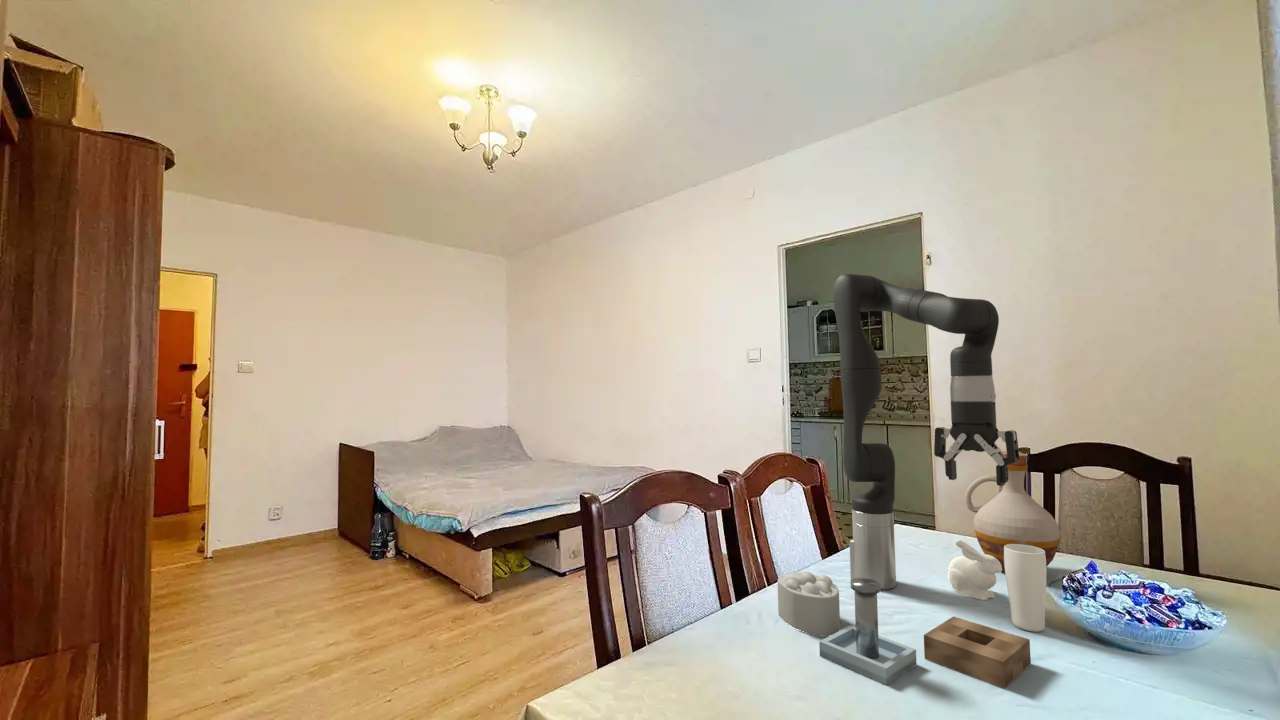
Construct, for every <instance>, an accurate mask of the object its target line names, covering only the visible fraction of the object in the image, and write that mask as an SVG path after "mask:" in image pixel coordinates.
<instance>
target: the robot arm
mask: <svg viewBox="0 0 1280 720" xmlns="http://www.w3.org/2000/svg"><path fill="white" fill-rule="evenodd" d="M832 292H833V293H832V296H833V297H832V298H833V299H832V300H833V307H834V308H833V309H834V315H835V319H836V327H837V328H836V329H837V332H838V333H837V334H838V346H839V356H840V357H839V358H840V380H841V381H840V382H841V383H840V385H841V393H842V405H843V406H842V408H843V410H842V411H843V441H842V442H843V443H842V460H843V461H842V463H843V469H844V474H845V476H846V478H847V480H849V482H854V483H872V484H871V486H870V487H868V489H866V490H865V491H863V492H861V493H859V494H856V495H854V496H853V497H852V499H851V516H852V517H851V518H852V522H851V523H852V539H850V540H849V566H850V568H849V569H850V581H851V580H852V579H855V578H866V579H871V580H875V581H877V582H879V583H880V585H881V590H889V589H890V590H891V589H894V588H895V587H897V572H896V567H897V566H896V565H897V564H896V545H895V544H896V541H895V538H896V537H895V522H894V521H895V518H894V515H895V514H894V503H895V500H896V499H895V498H896V489H895V488H896V486H895V485H896V460H895V455H894V452H893V449H892V448H891V447H890V446H889V445H888V444H887V443H881V442H877V443H876V442H873V443H872V442H870V443H868V442H867V443H863V431H864V425H865V423H866V420H867V418H868V416H869V414H870V413H871V411H872V409H873V407H874V406H875V404H876V402H877V401H878V398H879V397H880V394H881V393H882V392H881V391H882V387H883V385H882V384H883V383H882V370H881V361H880V358H879V357H878V354H877V352H876V350H875V349H874V347H873V346H872V344H871V342H870V340H869V339H868V337H867V336H866V334H865V331H864V329H863V325H862V320H861V318H862V317H861V312H862V313H865V312H889V313H893V314H895V315H898V316H899V317H901V318H903V319H905V320H908V321H912V322H915V323H920V324H923V325H929V326H931V327H933V328H935V329H938V330H940V331H942V332H946V333H951V334H958V335H964V338H963V342H962V345H961V346H958V347H955V348H953V349H952V350H951V352H950V353H949V354H950V355H949V357H950V358H949V360H950V361H949V363H950V387H949V394H950V395H949V396H950V416H951V417H950V420H951V428H946V427H944V426H940V427H935V429H934V446H933V447H934V456H935V457H937V458H941V459H943V460H944V467H945V468H944V470H945V476H946V477H948V480H950V481H956V480H957V479H958V478H957V477H958V476H957V474H958V473H957V472H958V471H957V460H955V459H956V458H957V456H958V455H960V454H961V452H962V451H965V452H966V451H967V452H970V451H975V452H979V453H983V452H986V453H987V455H988V456H989V457H991V458H992V460H993V461H994V462H995V463H997V464H998V466H997V464H996V465H995V473H996V475H995V476H996V477H997V482H996V485H997V486H1003V485H1005V483H1007V482H1008V480H1009V479H1008V465H1009V464H1011V463H1016V462H1019V461H1020V457H1019V453H1020V449H1019V448H1020V447H1019V442H1018V435H1017V434H1018V433H1017V431H1015V430H1013V429H1011V430H999V429H998V427H997V412H996V411H997V410H996V405H997V404H996V398H997V395H996V390H995V388H996V387H995V382H994V377H993V360H992V355H993V351H994V347H995V342H996V338H997V334H998V330H999V322H1000V320H999V319H1000V318H999V313H998V311H997V308H996V306H995V305H994V304H993V303H992V302H991V301H989V300H986V299H982V298H981V299H980V298H979V299H978V298H964V297H962V298H961V297H954V296H953V297H952V296H947V295H946V294H944V293H940V292H935V291H930V290H925V289H924V290H923V289H919V288H918V289H917V288H908V287H907V288H906V287H901V286H899V285H894V284H891V283H889V282H887V281H885V280H883V279H881V278H877V277H875V276H873V275H870V274H869V275H866V274H857V273H843V274H841V275H840V276H839V277H837V279H836V281H835V283H834V285H833V291H832ZM949 435H950V436H951V438H952V439H953V440H954V442H953V443H952V445H951V446H950V447H949V448H948V451H946V450H947V449H946V447H947V439H948V438H949ZM999 438H1000V439H1001V440H1002V442H1003V443H1005V448H1006V450H1005V451H1007V458H1006V457H1005V455H1004V454H1003V453H1002V451H1003V450H1001V448H1000V447H999V446H998V445H997V444H996V442H997V440H998V439H999Z"/></svg>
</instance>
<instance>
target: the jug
mask: <svg viewBox="0 0 1280 720" xmlns="http://www.w3.org/2000/svg"><path fill="white" fill-rule="evenodd" d="M1001 451H1002V453H1003V454H1004V455H1005V457H1006V458H1007V450H1001ZM1028 456H1029V455H1028V454H1026V453H1023V452H1022V453H1021V452H1019V457H1020V461H1019V462H1016V463H1011V464H1009V465H1008V479H1009V480H1008V482H1007V483H1005V485H1003V486H999V487H998V488H999V490H998V493H996V495H994V496H993V497H992V498H991V499H990V500H988V501H986V502H984V504H983V505H980V506H974V504H973V503H972V496H973V493H974V491H975V490H976V488H978V487H979V486H980V485H982V484H984V483H987V482H994V483H997V477H996V475H983V476H982V477H979V478H977V479H975V480H974V481H972V482H971V483H970V484H969V485H968V487H967V489H966V491H965V494H964V503H965V505H966V508H967V509H968V510H969V511H970V512H972V513H975V514H974V519H973V526H974V527H973V528H974V533H975V536H976V539H977V542H978V544H979V546H980V548H981V550H982V552H983V553H984V554H986V555H991V556H993V557H995V558H996V559H997V560H998V561H999V562H1000V563H1001V566H1002V571H1001V572H1000V573H1001V574H1004V575H1005V567H1004V546H1005V545H1007V544H1023V545H1030V546H1034V547H1038V548H1041V549H1043V550H1044V551H1045V555H1046V566H1047V567H1048V566H1049V565H1050V564H1051V563H1052V562H1053V560H1054V558H1055V556H1056V553H1057V552H1058V547H1059V544H1060V538H1061V537H1060V536H1061V535H1060V534H1061V531H1060V528H1059V525H1058V522H1057V521H1056V520H1055V518H1054V517H1053V515H1052V514H1051V513H1050V512H1049V511H1048V510H1046V509H1045V508H1044V507H1043V506H1042V505H1040V504H1039V503H1038V502H1037V501H1036V500H1035V499H1033V498H1032V497H1031V496H1030V495H1029V494H1028V493H1027V492H1026V490H1025V475H1026V471H1028V467H1029V465H1028V464H1026V462H1027V459H1028ZM995 463H996V462H995ZM996 466H998V464H997V463H996Z"/></svg>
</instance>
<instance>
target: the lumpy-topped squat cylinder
mask: <svg viewBox="0 0 1280 720" xmlns="http://www.w3.org/2000/svg"><path fill="white" fill-rule="evenodd" d="M777 609H778V611H777V612H778V613H777V614H779V615H778V617H779V616H780V617H781V618H782V619H783V620H784V621H785V622H786V623H788V624H789V625H791V626H792V627H794V628H796V629H799V630H801V631H804V632H807V633H806V634H808V633H810V634H809V635H812V634H815V635H814V636H817V635H823V636H822V637H829V636H828V635H833V634H835V633H837V632H838V631H839V630H841V617H840V616H841V613H840V612H841V611H840V591H839V588H838V587H837V585H835V584H834V583H833V579H832V578H830V576H828V575H826V574H825V575H824V574H823V575H820V576H819V575H816V574H813V573H811V572H810V571H802V572H801V571H800V572H790V573H788V574H786V575H784V576H779V578H778V579H777ZM780 617H779V618H780ZM781 618H780V619H781ZM782 619H781V620H782ZM783 620H782V621H783ZM784 621H783V622H784ZM785 622H784V623H785ZM786 623H785V624H786ZM788 624H787V625H788ZM789 625H788V626H789ZM792 627H791V628H792ZM794 628H793V629H794ZM796 629H795V630H796ZM801 631H800V632H801ZM804 632H803V633H804Z"/></svg>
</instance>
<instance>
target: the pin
mask: <svg viewBox="0 0 1280 720" xmlns="http://www.w3.org/2000/svg"><path fill="white" fill-rule="evenodd" d="M850 589H851V590H853V591H854V615H855V619H854V621H855V627H856V653H857V654H859V655H862V656H864V657H867V658H869V659H877V658H879V638H878V636H879V612H878V608H879V607H878V594H879V593H880V592H881V591H882V589H881V585H880V583H879V582H877V581H875V580H871V579H866V578H855V579H852V580H851V579H850Z"/></svg>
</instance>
